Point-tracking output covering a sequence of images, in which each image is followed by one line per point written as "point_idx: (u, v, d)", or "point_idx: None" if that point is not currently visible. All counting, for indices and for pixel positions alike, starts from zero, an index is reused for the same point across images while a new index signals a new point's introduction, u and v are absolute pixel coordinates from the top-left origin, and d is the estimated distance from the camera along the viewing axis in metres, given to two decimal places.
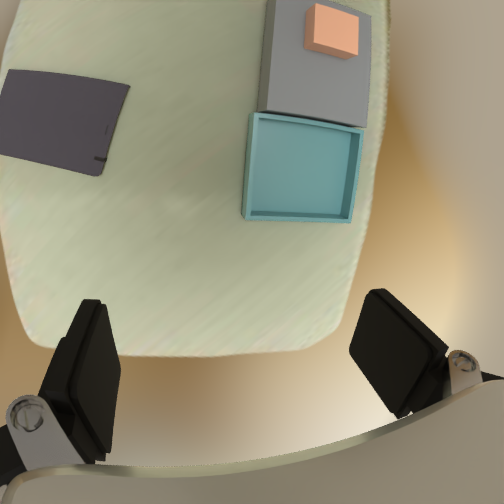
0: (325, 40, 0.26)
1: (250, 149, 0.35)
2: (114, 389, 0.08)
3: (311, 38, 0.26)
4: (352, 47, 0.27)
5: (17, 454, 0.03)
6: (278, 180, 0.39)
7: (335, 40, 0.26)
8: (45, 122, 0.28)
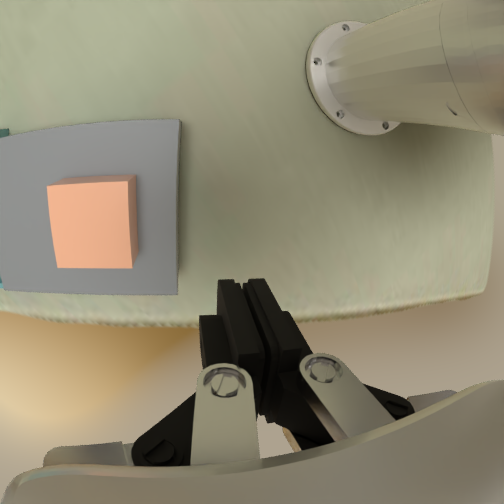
0: (57, 206, 0.16)
1: None
2: None
3: (61, 182, 0.16)
4: (65, 257, 0.17)
5: (187, 407, 0.06)
6: None
7: (64, 225, 0.17)
8: None
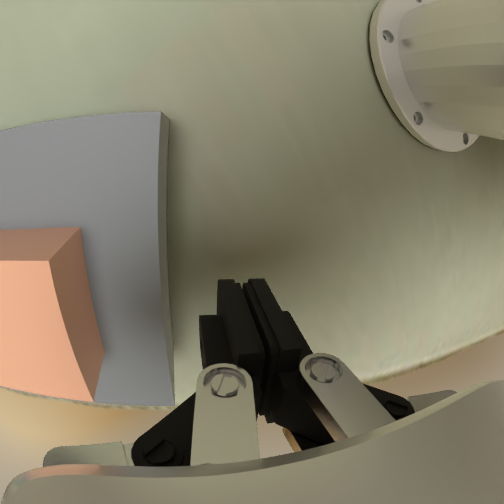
0: None
1: None
2: None
3: None
4: None
5: (187, 407, 0.06)
6: None
7: None
8: None
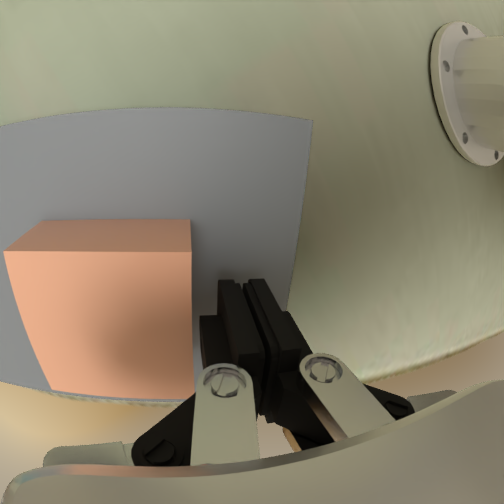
0: (29, 295, 0.07)
1: None
2: None
3: (35, 240, 0.07)
4: (63, 378, 0.08)
5: (187, 407, 0.06)
6: None
7: (50, 330, 0.07)
8: None
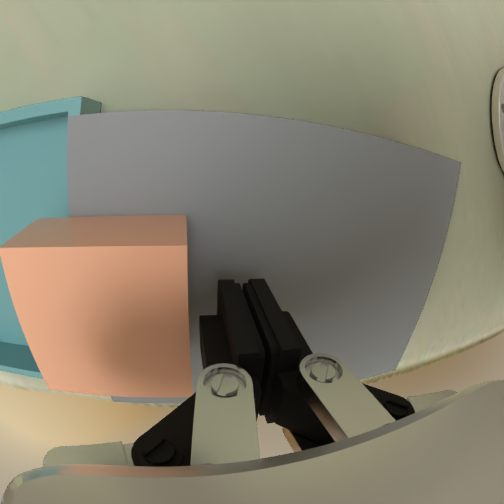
0: (25, 292, 0.07)
1: None
2: None
3: (30, 237, 0.07)
4: (60, 377, 0.08)
5: (187, 407, 0.06)
6: None
7: (46, 327, 0.07)
8: None
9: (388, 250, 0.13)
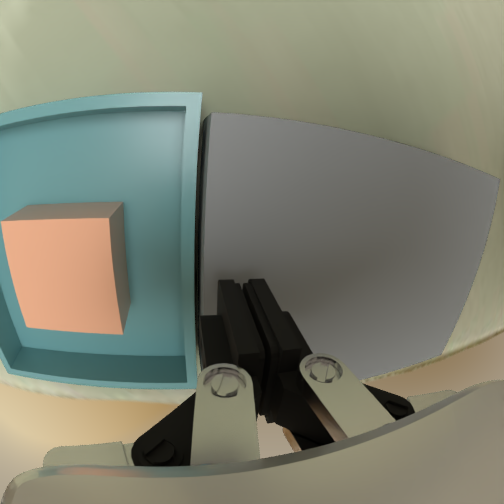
0: None
1: None
2: None
3: (103, 205, 0.13)
4: None
5: (187, 407, 0.06)
6: (37, 198, 0.12)
7: None
8: None
9: (450, 251, 0.14)
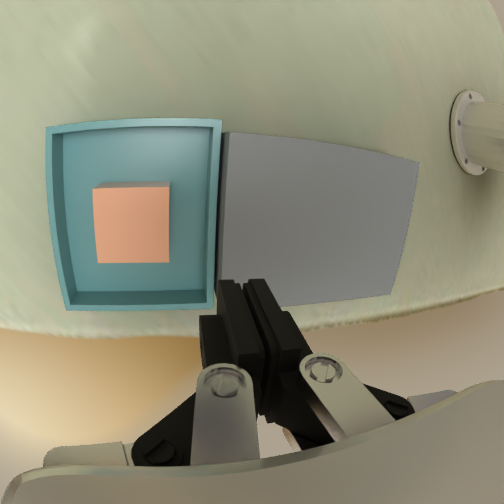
0: None
1: None
2: None
3: (159, 182, 0.22)
4: None
5: (187, 407, 0.06)
6: (110, 178, 0.22)
7: None
8: None
9: (379, 210, 0.24)
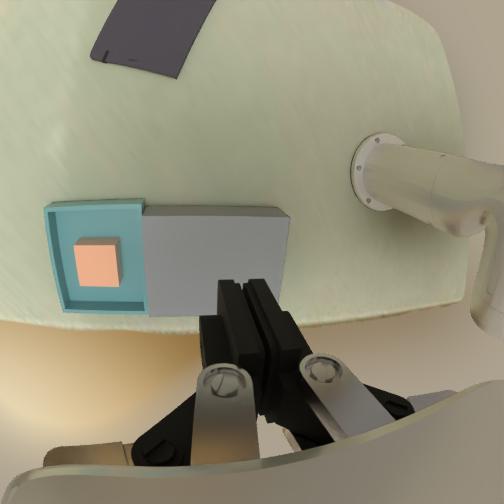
0: None
1: (105, 203, 0.33)
2: None
3: (112, 239, 0.36)
4: None
5: (187, 407, 0.06)
6: (85, 235, 0.35)
7: None
8: None
9: (253, 255, 0.37)
